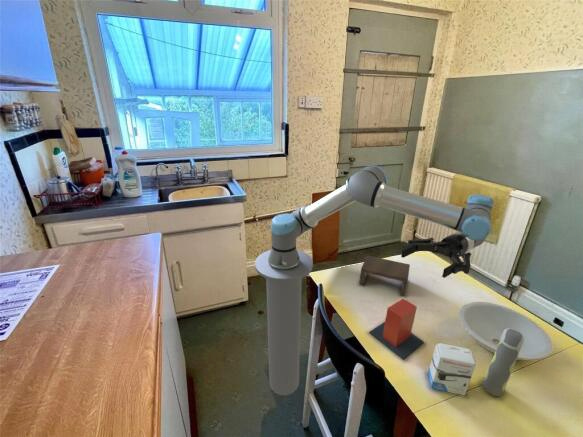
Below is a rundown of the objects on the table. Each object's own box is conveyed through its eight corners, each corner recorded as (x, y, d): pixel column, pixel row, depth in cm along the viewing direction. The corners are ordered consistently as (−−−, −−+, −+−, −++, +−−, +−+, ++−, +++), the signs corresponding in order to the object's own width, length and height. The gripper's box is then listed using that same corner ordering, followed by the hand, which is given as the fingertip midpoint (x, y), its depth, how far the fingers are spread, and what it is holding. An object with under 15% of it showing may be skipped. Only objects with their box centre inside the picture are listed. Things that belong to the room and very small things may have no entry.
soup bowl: (448, 310, 105) (452, 296, 103) (523, 324, 99) (529, 309, 97) (465, 364, 84) (470, 347, 82) (562, 385, 78) (571, 368, 76)
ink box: (430, 389, 77) (439, 357, 72) (427, 373, 81) (435, 342, 77) (465, 396, 75) (477, 364, 70) (460, 379, 79) (470, 348, 75)
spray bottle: (505, 389, 77) (529, 332, 69) (500, 401, 74) (525, 343, 66) (484, 377, 80) (505, 321, 72) (479, 388, 77) (500, 331, 69)
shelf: (359, 284, 120) (361, 268, 117) (364, 270, 130) (366, 255, 127) (404, 296, 113) (408, 279, 110) (406, 280, 123) (409, 264, 120)
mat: (369, 333, 95) (369, 331, 95) (389, 319, 101) (390, 318, 101) (403, 360, 85) (403, 358, 85) (423, 343, 91) (424, 341, 91)
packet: (382, 337, 93) (387, 307, 88) (397, 326, 97) (402, 298, 92) (395, 347, 89) (401, 317, 84) (410, 336, 93) (417, 306, 89)
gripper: (493, 270, 90) (461, 294, 79) (421, 240, 109) (386, 256, 98) (501, 249, 88) (468, 271, 76) (425, 222, 106) (389, 236, 95)
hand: (422, 263), depth 87 cm, fingers open, 13 cm apart
